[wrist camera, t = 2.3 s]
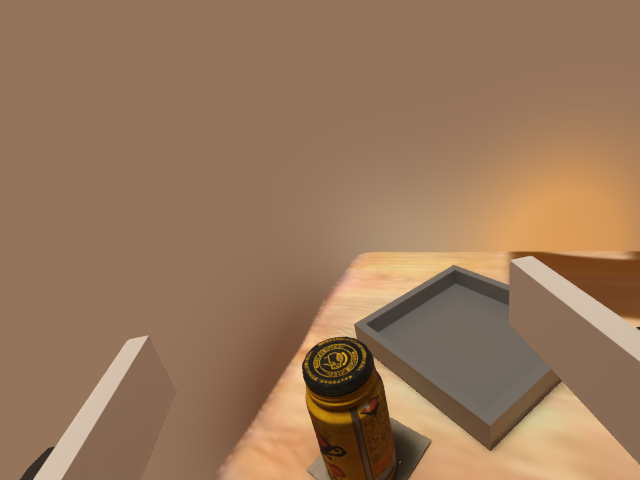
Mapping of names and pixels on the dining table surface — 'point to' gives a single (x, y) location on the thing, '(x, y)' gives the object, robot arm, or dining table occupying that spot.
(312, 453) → the dining table surface
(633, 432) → the robot arm
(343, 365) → the condiment
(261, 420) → the dining table surface
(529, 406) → the tray
